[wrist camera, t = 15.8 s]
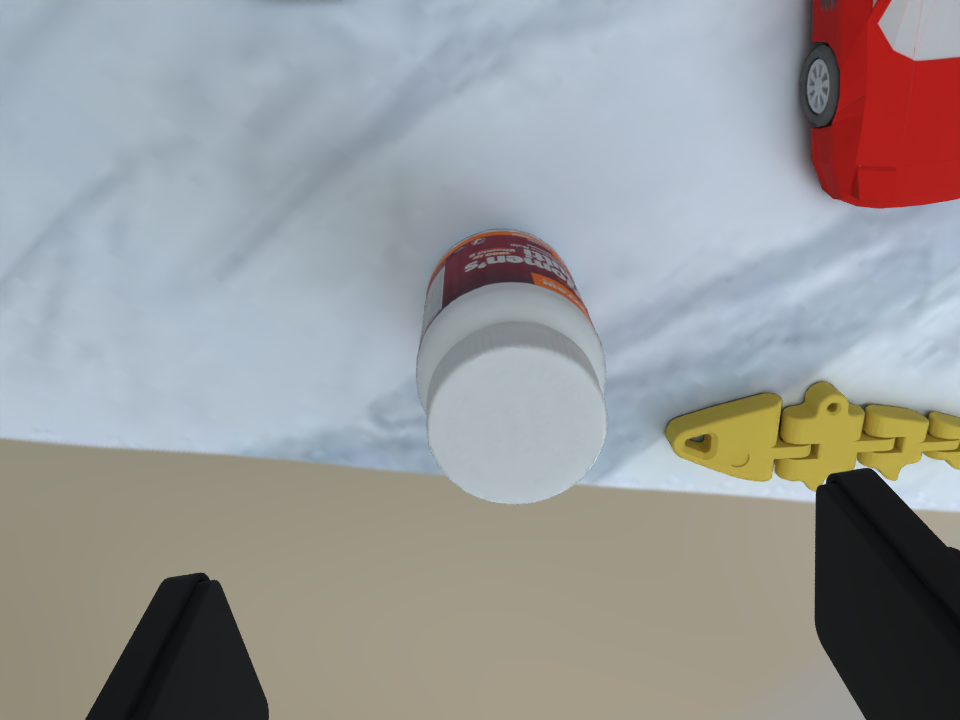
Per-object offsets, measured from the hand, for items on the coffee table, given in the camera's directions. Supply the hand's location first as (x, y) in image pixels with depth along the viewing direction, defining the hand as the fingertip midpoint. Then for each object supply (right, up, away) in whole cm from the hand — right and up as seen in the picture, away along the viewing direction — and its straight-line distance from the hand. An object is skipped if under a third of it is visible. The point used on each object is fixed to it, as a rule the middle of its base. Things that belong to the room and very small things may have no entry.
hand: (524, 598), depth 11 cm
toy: (+15, +3, +21) cm, 26 cm away
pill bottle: (0, +6, +20) cm, 21 cm away
